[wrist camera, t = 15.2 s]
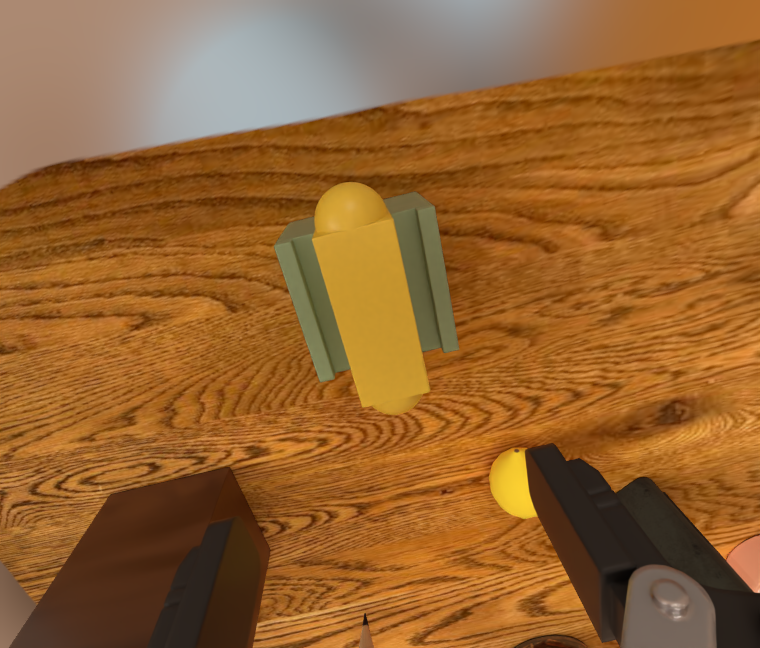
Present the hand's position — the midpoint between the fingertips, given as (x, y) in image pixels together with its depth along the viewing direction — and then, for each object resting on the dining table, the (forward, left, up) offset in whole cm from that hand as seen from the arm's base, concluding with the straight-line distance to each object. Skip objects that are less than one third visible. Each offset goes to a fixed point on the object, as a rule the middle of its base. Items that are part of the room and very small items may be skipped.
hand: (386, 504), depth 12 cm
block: (0, +1, -21) cm, 21 cm away
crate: (+20, -21, -21) cm, 36 cm away
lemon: (+21, +9, -22) cm, 31 cm away
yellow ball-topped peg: (0, +1, -15) cm, 15 cm away
